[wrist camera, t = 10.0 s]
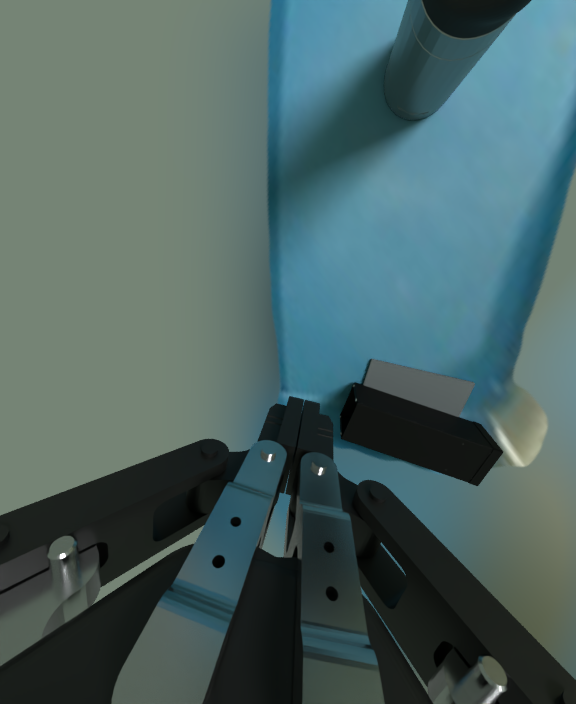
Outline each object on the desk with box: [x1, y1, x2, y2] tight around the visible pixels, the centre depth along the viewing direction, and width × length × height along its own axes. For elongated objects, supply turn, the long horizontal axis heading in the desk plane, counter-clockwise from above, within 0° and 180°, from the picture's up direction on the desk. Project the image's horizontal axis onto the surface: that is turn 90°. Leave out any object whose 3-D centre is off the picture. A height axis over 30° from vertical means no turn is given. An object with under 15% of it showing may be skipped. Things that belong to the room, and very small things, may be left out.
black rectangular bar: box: [340, 382, 503, 486], centre depth 52 cm, size 8×8×28 cm
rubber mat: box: [363, 359, 475, 417], centre depth 54 cm, size 12×18×1 cm, turn 79°
